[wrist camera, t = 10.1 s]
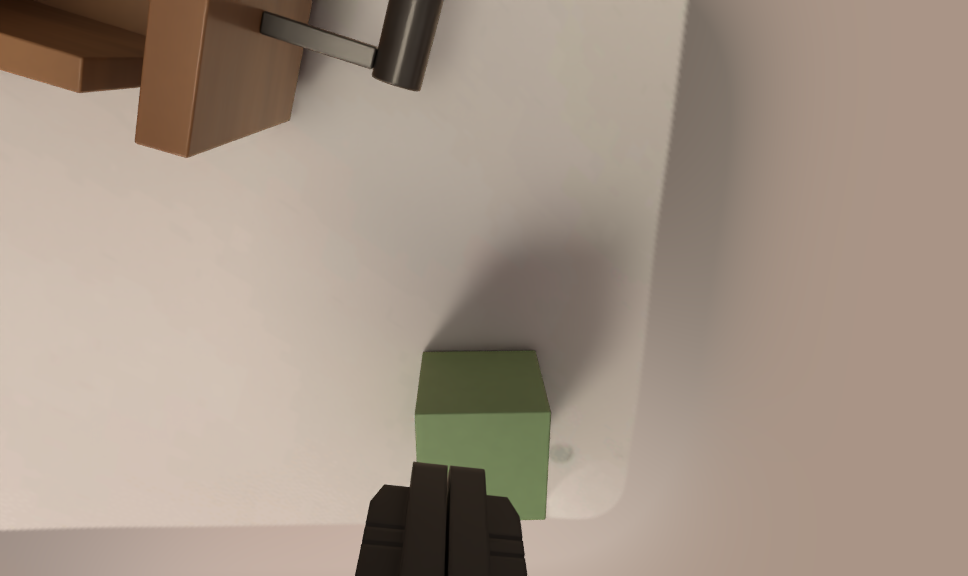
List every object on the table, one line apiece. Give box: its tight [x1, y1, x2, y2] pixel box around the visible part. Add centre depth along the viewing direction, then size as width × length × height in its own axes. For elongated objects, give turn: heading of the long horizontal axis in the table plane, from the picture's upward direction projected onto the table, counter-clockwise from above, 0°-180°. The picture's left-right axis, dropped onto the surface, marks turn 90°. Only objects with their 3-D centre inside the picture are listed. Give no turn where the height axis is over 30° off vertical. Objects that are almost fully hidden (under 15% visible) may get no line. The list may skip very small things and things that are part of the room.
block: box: [415, 350, 551, 520], centre depth 25 cm, size 5×5×5 cm
